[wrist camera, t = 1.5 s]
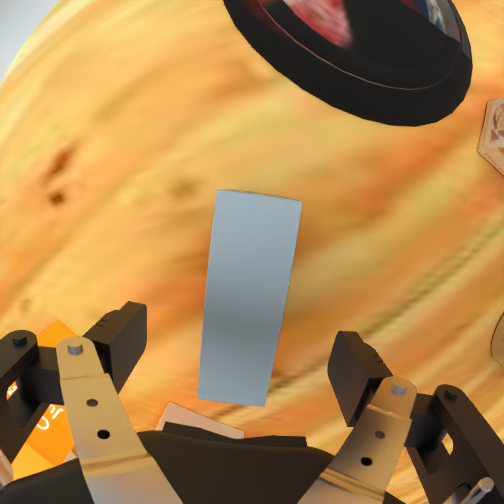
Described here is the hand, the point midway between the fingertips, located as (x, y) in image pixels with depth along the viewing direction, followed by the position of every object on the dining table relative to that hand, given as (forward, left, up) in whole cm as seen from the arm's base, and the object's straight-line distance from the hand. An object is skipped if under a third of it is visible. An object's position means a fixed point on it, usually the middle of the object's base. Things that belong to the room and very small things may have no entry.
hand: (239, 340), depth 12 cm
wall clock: (+3, -29, -14) cm, 32 cm away
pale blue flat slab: (0, 0, -13) cm, 13 cm away
